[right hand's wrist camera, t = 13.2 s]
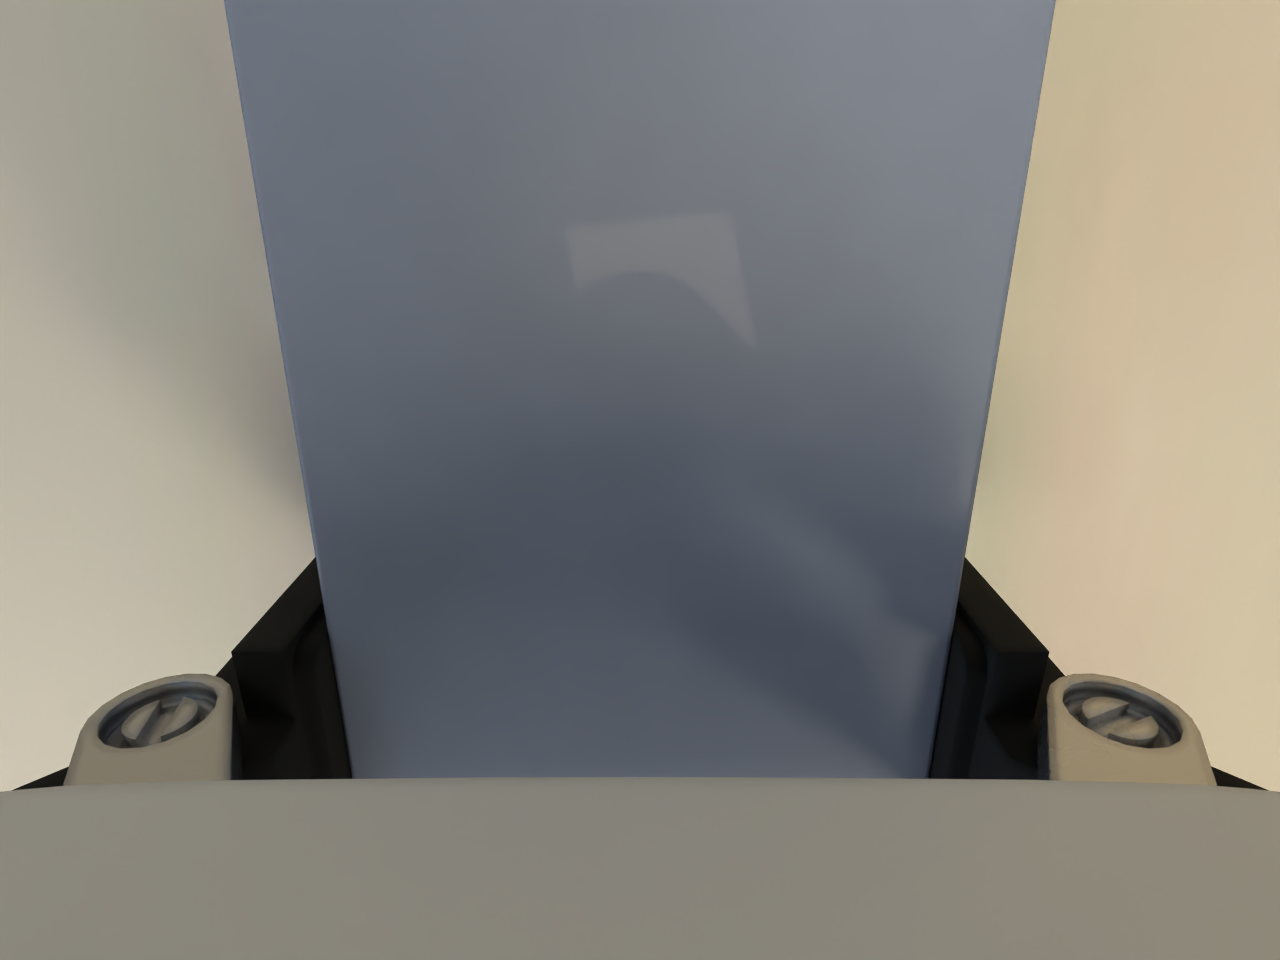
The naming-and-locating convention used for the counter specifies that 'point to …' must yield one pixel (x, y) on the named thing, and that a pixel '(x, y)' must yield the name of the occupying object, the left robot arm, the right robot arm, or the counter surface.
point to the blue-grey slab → (640, 365)
